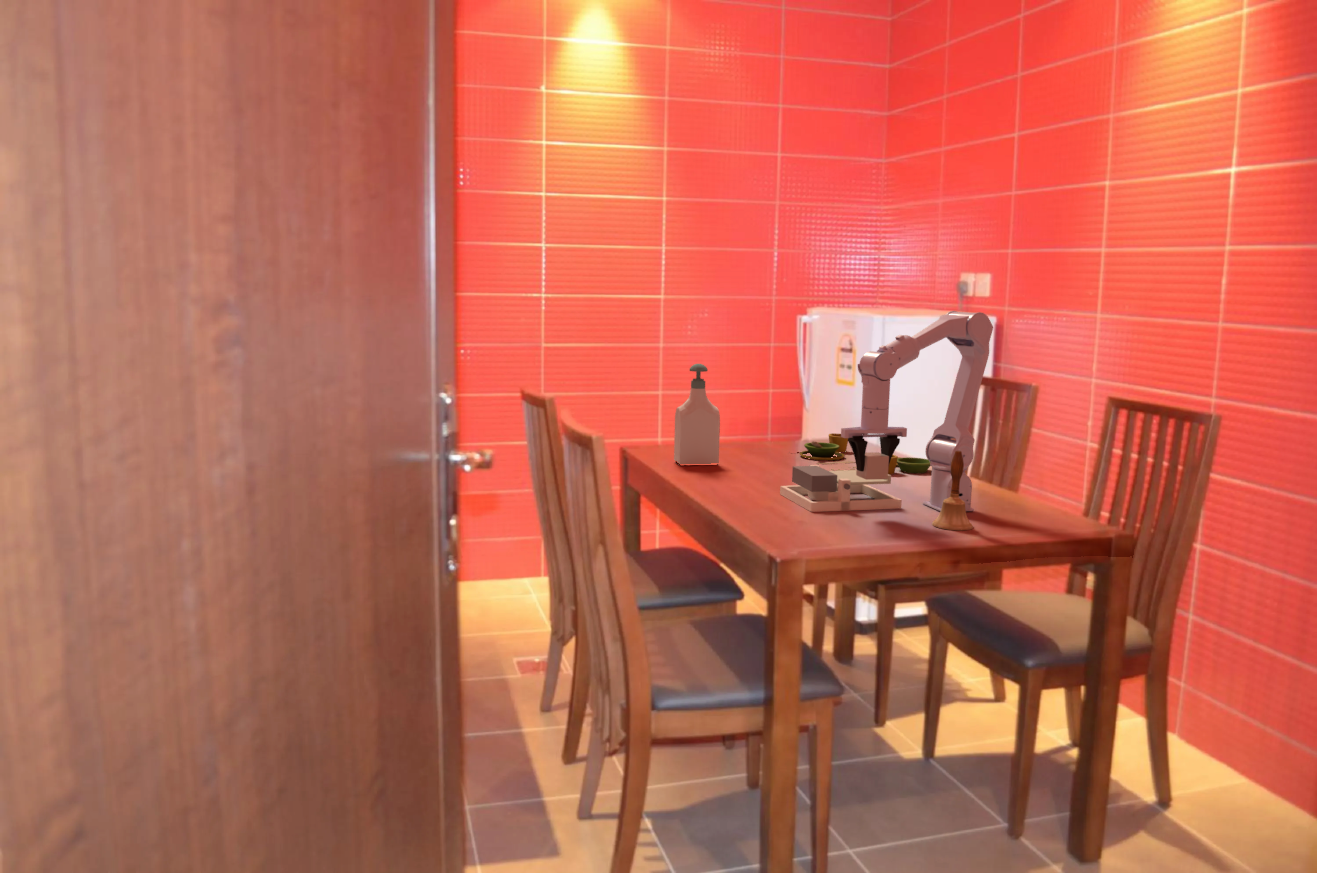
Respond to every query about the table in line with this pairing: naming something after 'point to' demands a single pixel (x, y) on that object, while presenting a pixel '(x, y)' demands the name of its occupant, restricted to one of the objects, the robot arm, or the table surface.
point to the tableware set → (840, 445)
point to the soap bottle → (697, 425)
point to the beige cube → (874, 466)
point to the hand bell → (954, 501)
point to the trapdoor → (828, 478)
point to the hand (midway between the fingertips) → (872, 470)
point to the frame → (840, 498)
